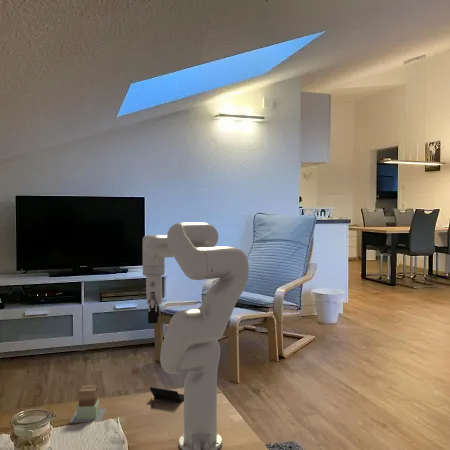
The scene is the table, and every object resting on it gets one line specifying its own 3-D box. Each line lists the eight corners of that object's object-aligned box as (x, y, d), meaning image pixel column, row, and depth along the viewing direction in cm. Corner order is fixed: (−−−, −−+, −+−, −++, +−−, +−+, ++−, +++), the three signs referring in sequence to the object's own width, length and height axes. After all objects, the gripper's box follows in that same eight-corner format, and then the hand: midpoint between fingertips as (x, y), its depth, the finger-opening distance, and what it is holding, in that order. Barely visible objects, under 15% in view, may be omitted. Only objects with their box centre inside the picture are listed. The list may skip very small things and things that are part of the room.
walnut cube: (94, 406, 150) (94, 390, 150) (78, 406, 150) (78, 391, 150) (97, 399, 155) (97, 385, 155) (82, 400, 155) (82, 385, 155)
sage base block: (95, 418, 150) (95, 406, 150) (76, 419, 149) (76, 407, 149) (99, 411, 156) (99, 399, 156) (80, 411, 155) (80, 400, 155)
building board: (101, 423, 148) (101, 421, 148) (69, 425, 147) (69, 422, 147) (106, 410, 158) (106, 408, 158) (76, 412, 157) (76, 409, 157)
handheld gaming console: (189, 390, 172) (181, 375, 167) (186, 408, 167) (178, 393, 161) (160, 392, 175) (151, 377, 169) (156, 410, 169) (147, 395, 163)
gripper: (163, 273, 153) (163, 325, 153) (165, 267, 170) (165, 314, 170) (140, 273, 152) (140, 326, 152) (144, 268, 169) (144, 314, 169)
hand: (153, 319), depth 161 cm, fingers open, 9 cm apart
